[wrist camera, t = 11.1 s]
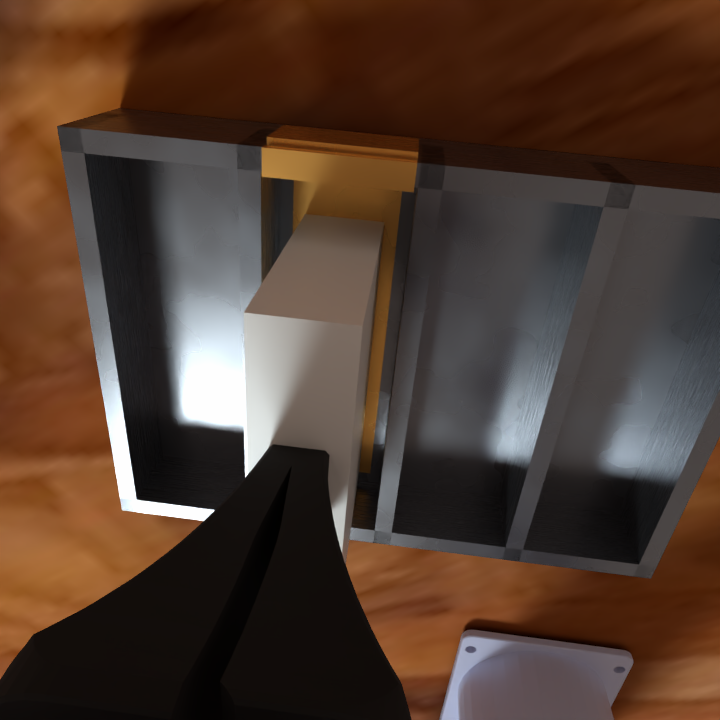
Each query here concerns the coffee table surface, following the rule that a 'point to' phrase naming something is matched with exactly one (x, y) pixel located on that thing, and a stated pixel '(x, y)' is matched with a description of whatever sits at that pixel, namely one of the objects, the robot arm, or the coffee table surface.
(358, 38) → the coffee table surface
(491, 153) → the rack
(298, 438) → the panel
